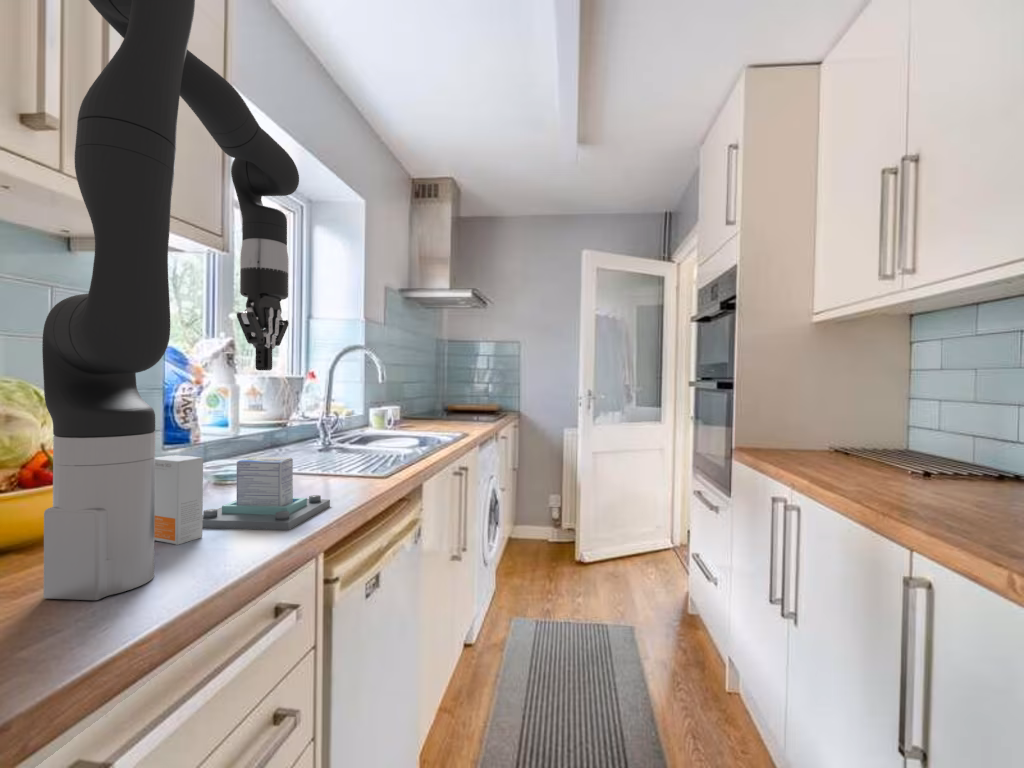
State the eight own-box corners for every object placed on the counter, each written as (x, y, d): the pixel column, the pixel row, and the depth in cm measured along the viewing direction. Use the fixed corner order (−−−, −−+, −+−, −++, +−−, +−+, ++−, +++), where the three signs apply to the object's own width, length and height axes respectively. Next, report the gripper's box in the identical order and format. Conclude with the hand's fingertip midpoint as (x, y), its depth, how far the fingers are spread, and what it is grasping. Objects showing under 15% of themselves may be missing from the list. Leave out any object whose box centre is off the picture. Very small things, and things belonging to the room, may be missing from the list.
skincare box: (146, 540, 77) (147, 458, 77) (174, 532, 81) (175, 454, 81) (177, 545, 75) (177, 460, 74) (204, 537, 79) (204, 456, 78)
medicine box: (293, 506, 93) (294, 457, 93) (281, 513, 88) (281, 461, 88) (250, 505, 93) (250, 456, 93) (235, 511, 89) (235, 460, 89)
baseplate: (288, 530, 83) (288, 514, 83) (190, 527, 84) (190, 512, 84) (329, 505, 99) (330, 493, 99) (247, 503, 100) (247, 491, 100)
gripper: (265, 261, 84) (264, 369, 84) (303, 277, 98) (302, 371, 98) (220, 261, 85) (219, 369, 85) (264, 277, 98) (263, 370, 98)
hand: (264, 370), depth 91 cm, fingers closed
